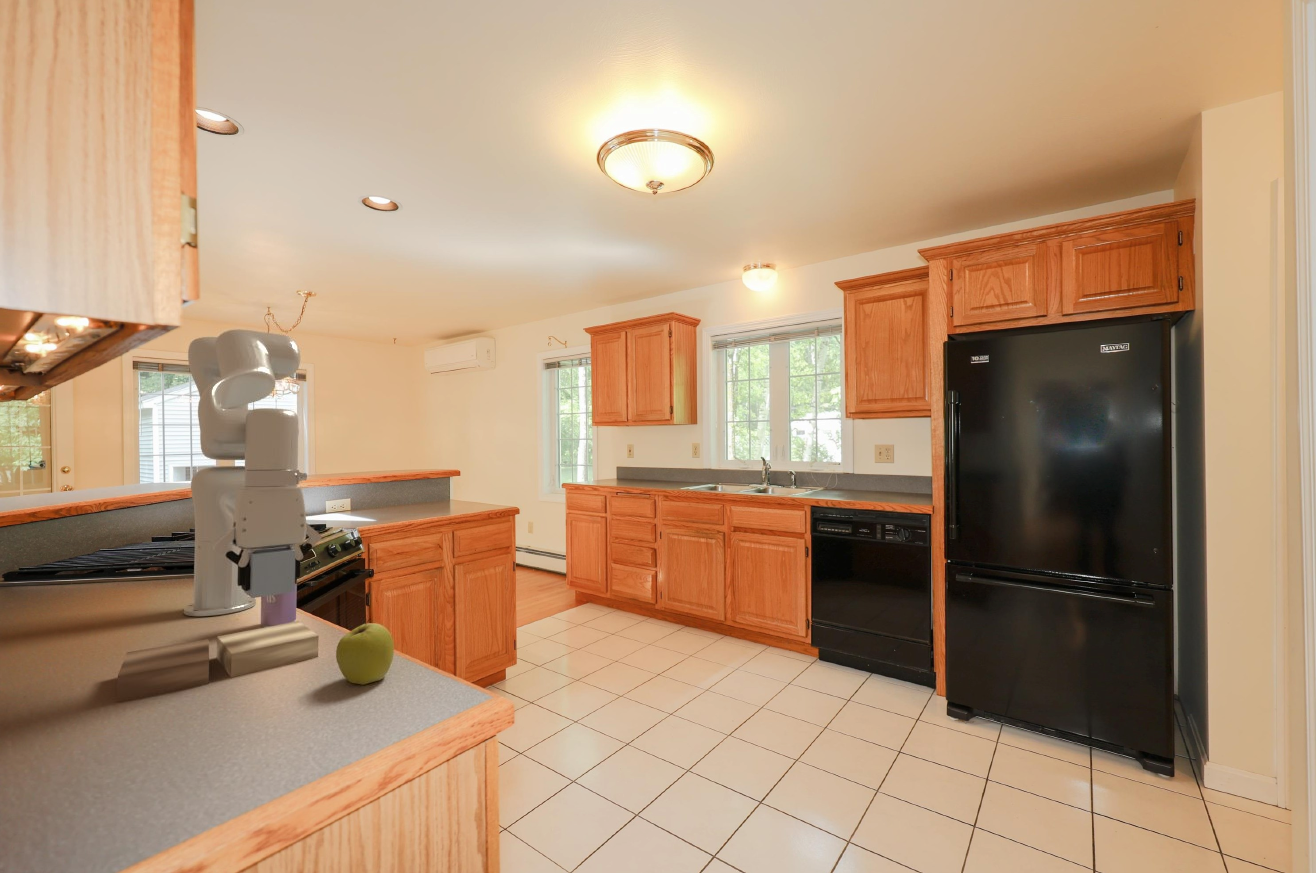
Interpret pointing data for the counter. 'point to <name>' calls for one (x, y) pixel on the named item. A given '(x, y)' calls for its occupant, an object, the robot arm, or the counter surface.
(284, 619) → the beverage can
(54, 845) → the counter surface
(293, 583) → the grey block
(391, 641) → the apple
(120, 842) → the counter surface
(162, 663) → the walnut plinth
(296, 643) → the maple plinth
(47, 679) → the counter surface
